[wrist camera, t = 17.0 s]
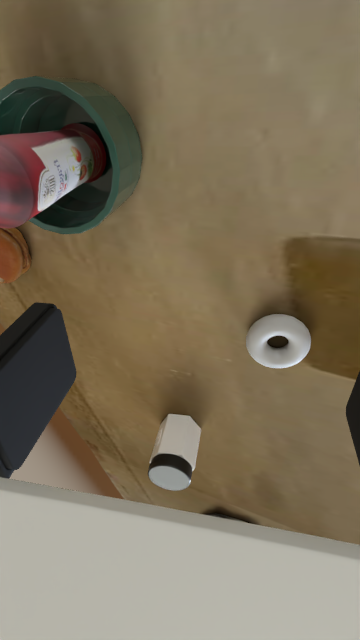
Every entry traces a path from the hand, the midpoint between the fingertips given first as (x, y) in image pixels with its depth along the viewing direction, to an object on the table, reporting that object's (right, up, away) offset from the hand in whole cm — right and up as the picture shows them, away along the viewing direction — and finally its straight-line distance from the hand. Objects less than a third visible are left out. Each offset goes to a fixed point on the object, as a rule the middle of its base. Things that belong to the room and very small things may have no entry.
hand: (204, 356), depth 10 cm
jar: (-1, -22, +62) cm, 66 cm away
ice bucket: (-13, +23, +34) cm, 43 cm away
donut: (+15, -1, +45) cm, 47 cm away
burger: (-29, +13, +45) cm, 55 cm away
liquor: (-13, +23, +34) cm, 43 cm away
